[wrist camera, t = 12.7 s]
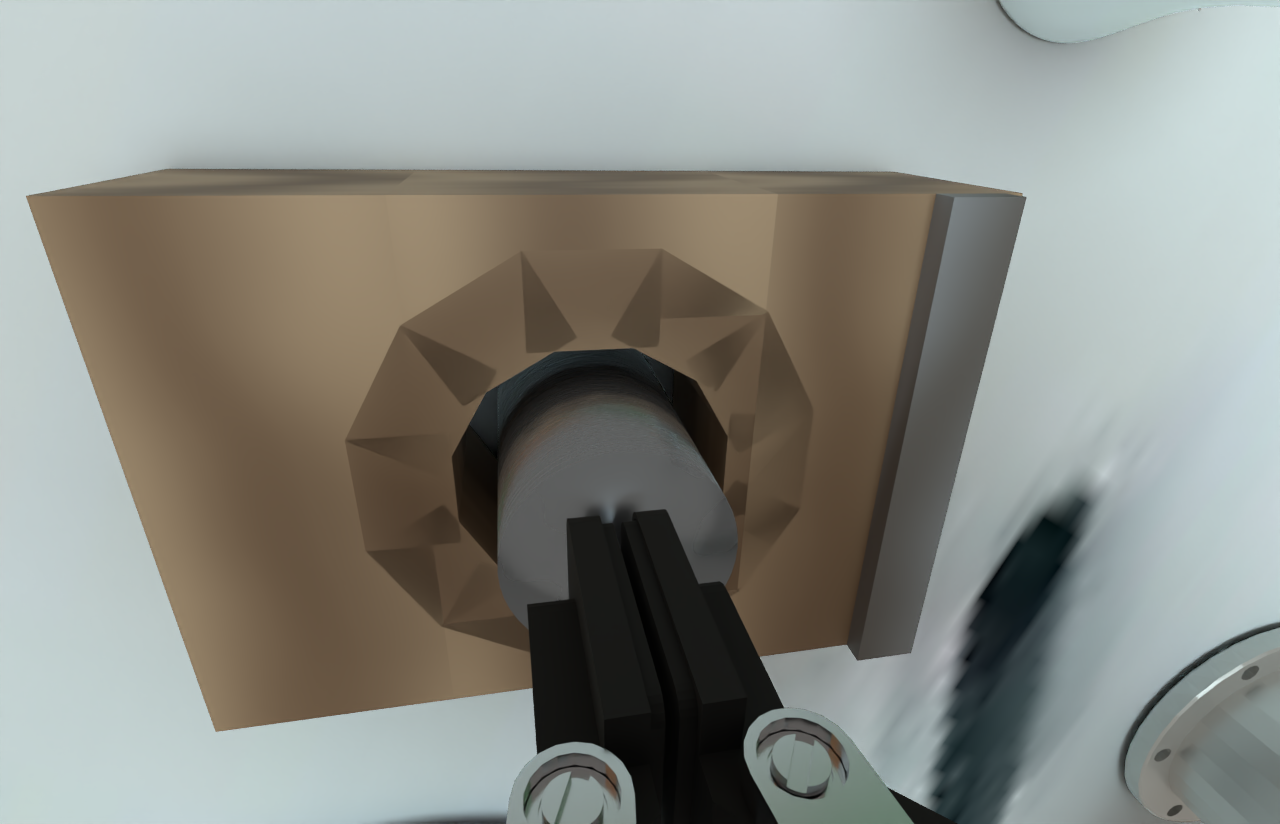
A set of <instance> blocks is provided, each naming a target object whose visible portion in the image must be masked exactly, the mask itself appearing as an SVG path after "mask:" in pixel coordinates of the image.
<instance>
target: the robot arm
mask: <svg viewBox="0 0 1280 824" xmlns="http://www.w3.org/2000/svg"><path fill="white" fill-rule="evenodd" d="M566 530H567V561H568V593H569V599H567V600H559V601H551V602H542V603H534V604H527V613H528V628H529V643H530V658H531V672H532V687H533V702H534V716H535V730H536V745H537V755H536V756H535V757H534V758H533V759H532V760H531V761H529V762H528V763H527V764H526V765H525V766H524V768H523V769H522V771H521V772H520V774H519V775H518V777H517V778H516V780H515V782H514V785H513V788H512V792H511V795H510V798H509V805H508V813H507V820H506V824H957V823H955V822H953V821H951V820H949V819H947V818H945V817H943V816H941V815H939V814H937V813H936V812H934V811H932V810H930V809H928V808H926V807H924V806H922V805H920V804H918V803H916V802H914V801H912V800H911V799H909V798H907V797H905V796H903V795H901V794H899V793H897V792H895V791H893V790H891V789H889V788H887V787H886V786H885V784H884V783H883V781H882V780H881V779H880V777H879V776H878V775H877V773H876V772H875V771H874V769H873V768H872V767H871V765H870V764H869V763H868V761H867V760H866V759H865V757H864V756H863V755H862V753H861V752H860V751H859V749H858V748H857V747H856V745H855V744H854V743H853V741H852V740H851V739H850V738H849V737H848V736H847V735H846V734H845V732H844V731H843V730H842V729H841V728H840V727H839V726H838V725H836V724H835V723H833V722H831V721H830V720H828V719H827V718H825V717H824V716H822V715H819V714H816V713H814V712H811V711H808V710H805V709H797V708H784V707H783V705H782V703H781V701H780V699H779V697H778V694H777V692H776V690H775V688H774V686H773V684H772V682H771V680H770V678H769V676H768V674H767V672H766V670H765V668H764V665H763V663H762V661H761V659H760V657H759V655H758V653H757V651H756V649H755V647H754V645H753V643H752V641H751V638H750V636H749V634H748V632H747V630H746V628H745V626H744V624H743V622H742V620H741V618H740V616H739V614H738V612H737V609H736V607H735V605H734V603H733V601H732V599H731V597H730V595H729V593H728V591H727V589H726V587H725V586H724V584H723V583H721V582H720V581H718V582H709V583H701V584H698V581H697V579H696V577H695V574H694V572H693V570H692V567H691V565H690V563H689V560H688V558H687V556H686V553H685V551H684V549H683V546H682V544H681V542H680V539H679V537H678V535H677V532H676V530H675V528H674V525H673V523H672V521H671V518H670V516H669V514H668V512H667V510H666V509H660V510H650V511H639V512H634V513H633V515H632V521H625V522H622V524H621V548H620V545H619V542H618V538H617V535H616V531H615V528H614V525H613V523H605V524H602V522H601V518H600V516H599V515H598V516H587V517H577V518H567V522H566ZM1125 779H1126V783H1127V787H1128V789H1129V790H1130V791H1131V793H1132V794H1133V795H1134V796H1135V798H1136V799H1137V800H1138V801H1139V802H1140V803H1141V804H1142V805H1143V806H1144V807H1145V808H1146V809H1147V810H1148V811H1149V812H1150V813H1151V814H1153V815H1154V816H1156V817H1159V818H1161V819H1164V820H1169V821H1178V822H1191V821H1202V822H1203V823H1204V824H1280V627H1279V628H1275V629H1272V630H1269V631H1266V632H1262V633H1259V634H1256V635H1254V636H1251V637H1249V638H1247V639H1245V640H1242V641H1240V642H1238V643H1236V644H1233V645H1232V646H1230V647H1228V648H1226V649H1225V650H1223V651H1221V652H1219V653H1218V654H1216V655H1214V656H1213V657H1211V658H1209V659H1208V660H1207V661H1205V662H1204V663H1202V664H1201V665H1200V666H1198V667H1197V668H1195V669H1194V670H1193V671H1191V672H1190V673H1188V674H1187V675H1186V676H1185V677H1184V678H1183V679H1182V680H1180V681H1179V682H1178V683H1177V684H1176V685H1175V686H1174V687H1172V688H1171V689H1170V690H1169V691H1168V692H1167V693H1166V694H1165V695H1164V696H1163V698H1162V699H1161V700H1160V701H1159V702H1158V703H1157V704H1156V705H1155V706H1154V707H1153V708H1152V710H1151V711H1150V712H1149V714H1148V715H1147V717H1146V718H1145V719H1144V721H1143V722H1142V723H1141V725H1140V726H1139V728H1138V730H1137V732H1136V734H1135V736H1134V738H1133V739H1132V741H1131V743H1130V746H1129V749H1128V753H1127V756H1126V759H1125Z"/></svg>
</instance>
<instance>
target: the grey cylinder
mask: <svg viewBox="0 0 1280 824" xmlns="http://www.w3.org/2000/svg"><path fill="white" fill-rule="evenodd" d="M660 509H666V510H667V512H668V514H669V516H670V518H671V521H672V523H673V525H674V528H675V530H676V532H677V535H678V537H679V539H680V542H681V544H682V546H683V549H684V551H685V553H686V556H687V558H688V560H689V563H690V565H691V567H692V570H693V572H694V574H695V577H696V579H697V581H698V584H701V583H709V582H718V581H720V582H721V583H723V584H724V586H725V585H726V583H727V581H728V579H729V577H730V575H731V573H732V570H733V567H734V564H735V560H736V554H737V549H738V533H737V525H736V521H735V517H734V514H733V511H732V509H731V507H730V505H729V503H728V501H727V499H726V497H725V495H724V494H723V492H722V490H721V488H720V487H719V485H718V483H717V482H716V480H715V478H714V476H713V475H712V473H711V471H710V470H709V468H708V466H707V464H706V463H705V461H704V459H703V458H702V456H701V454H700V452H699V451H698V449H697V447H696V446H695V444H694V442H693V440H692V439H691V437H690V435H689V434H688V432H687V430H686V428H685V427H684V425H683V423H682V422H681V420H680V418H679V416H678V415H677V413H676V411H675V409H674V408H673V406H672V404H671V403H670V401H669V399H668V397H667V396H666V394H665V392H664V391H663V389H662V387H661V385H660V384H659V382H658V380H657V379H656V377H655V375H654V373H653V372H652V370H651V368H650V367H649V365H648V363H647V361H646V360H645V358H644V356H643V355H642V353H641V352H640V351H638V350H636V349H634V348H624V349H603V350H581V351H559V352H553V353H551V354H549V355H548V356H546V357H545V358H543V359H541V360H540V361H538V362H536V363H535V364H533V365H531V366H530V367H528V368H526V369H525V370H523V371H521V372H520V373H518V374H516V375H515V376H513V377H511V378H510V379H508V380H506V381H505V382H503V383H501V384H500V385H498V579H499V584H500V588H501V591H502V594H503V597H504V599H505V601H506V603H507V605H508V607H509V608H510V610H511V611H512V613H513V614H514V615H515V617H516V618H517V619H518V620H519V621H520V622H521V623H522V624H523V625H524V626H525V627H526V628H527V629H528V630H529V628H528V613H527V604H534V603H542V602H551V601H559V600H567V599H569V593H568V561H567V530H566V522H567V518H577V517H587V516H598V515H599V516H600V518H601V522H602V524H605V523H613V525H614V528H615V531H616V535H617V538H618V542H619V545H620V548H621V524H622V522H625V521H632V515H633V513H634V512H639V511H650V510H660Z"/></svg>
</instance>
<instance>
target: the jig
mask: <svg viewBox="0 0 1280 824" xmlns="http://www.w3.org/2000/svg"><path fill="white" fill-rule="evenodd" d="M1022 194H1023V193H1017V192H1011V191H1005V190H1000V189H994V188H988V187H982V186H976V185H970V184H964V183H958V182H952V181H946V180H940V179H934V178H928V177H922V176H916V175H910V174H904V173H898V172H802V171H549V170H296V169H165V170H159V171H154V172H149V173H144V174H138V175H133V176H128V177H123V178H118V179H112V180H107V181H102V182H97V183H92V184H86V185H81V186H76V187H71V188H66V189H60V190H55V191H50V192H45V193H39V194H34V195H29V196H26V198H27V200H28V203H29V206H30V209H31V212H32V214H33V217H34V220H35V223H36V226H37V229H38V231H39V234H40V237H41V240H42V243H43V246H44V248H45V251H46V254H47V257H48V260H49V262H50V265H51V268H52V271H53V274H54V277H55V279H56V282H57V285H58V288H59V291H60V294H61V296H62V299H63V302H64V305H65V308H66V310H67V313H68V316H69V319H70V322H71V325H72V327H73V330H74V333H75V336H76V339H77V342H78V344H79V347H80V350H81V353H82V356H83V358H84V361H85V364H86V367H87V370H88V373H89V375H90V378H91V381H92V384H93V387H94V390H95V392H96V395H97V398H98V401H99V404H100V406H101V409H102V412H103V415H104V418H105V421H106V423H107V426H108V429H109V432H110V435H111V438H112V440H113V443H114V446H115V449H116V452H117V454H118V457H119V460H120V463H121V466H122V469H123V471H124V474H125V477H126V480H127V483H128V486H129V488H130V491H131V494H132V497H133V500H134V502H135V505H136V508H137V511H138V514H139V517H140V519H141V522H142V525H143V528H144V531H145V534H146V536H147V539H148V542H149V545H150V548H151V550H152V553H153V556H154V559H155V562H156V565H157V567H158V570H159V573H160V576H161V579H162V582H163V584H164V587H165V590H166V593H167V596H168V598H169V601H170V604H171V607H172V610H173V613H174V615H175V618H176V621H177V624H178V627H179V630H180V632H181V635H182V638H183V641H184V644H185V646H186V649H187V652H188V655H189V658H190V661H191V663H192V666H193V669H194V672H195V675H196V678H197V680H198V683H199V686H200V689H201V692H202V694H203V697H204V700H205V703H206V706H207V709H208V711H209V714H210V717H211V720H212V723H213V725H214V728H215V731H216V732H218V731H225V730H232V729H239V728H247V727H254V726H261V725H268V724H275V723H283V722H290V721H297V720H304V719H312V718H319V717H326V716H333V715H341V714H348V713H355V712H362V711H369V710H377V709H384V708H391V707H398V706H406V705H413V704H420V703H427V702H435V701H442V700H449V699H456V698H463V697H471V696H478V695H485V694H492V693H500V692H507V691H514V690H521V689H529V688H533V687H532V672H531V658H530V643H529V630H528V629H527V628H526V627H525V626H524V625H523V624H522V623H521V622H520V621H519V620H518V619H517V618H516V617H515V615H514V614H513V613H512V611H511V610H510V608H509V607H508V605H507V603H506V601H505V599H504V597H503V594H502V591H501V588H500V584H499V579H498V460H497V459H496V458H495V457H494V455H493V454H492V453H491V452H490V450H489V449H488V448H487V447H486V445H485V444H484V443H483V442H482V440H481V439H480V438H479V437H478V435H477V434H476V433H475V431H474V430H473V429H472V428H471V426H470V425H469V423H470V421H471V420H472V418H473V416H474V414H475V412H476V410H477V408H478V406H479V405H480V403H481V401H482V399H483V397H484V395H485V393H486V392H488V391H490V390H491V389H493V388H495V387H496V386H498V385H500V384H501V383H503V382H505V381H506V380H508V379H510V378H511V377H513V376H515V375H516V374H518V373H520V372H521V371H523V370H525V369H526V368H528V367H530V366H531V365H533V364H535V363H536V362H538V361H540V360H541V359H543V358H545V357H546V356H548V355H549V354H551V353H553V352H559V351H581V350H603V349H624V348H634V349H636V350H638V351H640V352H642V353H644V354H646V355H648V356H649V357H651V358H653V359H655V360H657V361H659V362H661V363H663V364H665V365H667V366H669V367H671V368H673V369H674V384H673V408H674V409H675V411H676V413H677V415H678V416H679V418H680V420H681V422H682V423H683V425H684V427H685V428H686V430H687V432H688V434H689V435H690V437H691V439H692V440H693V442H694V444H695V446H696V447H697V449H698V451H699V452H700V454H701V456H702V458H703V459H704V461H705V463H706V464H707V466H708V468H709V470H710V471H711V473H712V475H713V476H714V478H715V480H716V482H717V483H718V485H719V487H720V488H721V490H722V492H723V494H724V495H725V497H726V499H727V501H728V503H729V505H730V507H731V509H732V511H733V514H734V517H735V521H736V525H737V533H738V549H737V554H736V560H735V564H734V567H733V570H732V573H731V575H730V577H729V579H728V581H727V583H726V585H725V587H726V589H727V591H728V593H729V595H730V597H731V599H732V601H733V603H734V605H735V607H736V609H737V612H738V614H739V616H740V618H741V620H742V622H743V624H744V626H745V628H746V630H747V632H748V634H749V636H750V638H751V641H752V643H753V645H754V647H755V649H756V651H757V653H758V655H759V657H760V656H767V655H774V654H782V653H789V652H796V651H803V650H810V649H818V648H825V647H832V646H839V645H848V647H849V649H850V650H851V652H852V653H853V655H854V656H855V658H856V659H857V661H858V660H865V659H872V658H879V657H886V656H893V655H900V654H907V653H911V650H912V647H913V643H914V639H915V635H916V631H917V627H918V623H919V619H920V615H921V611H922V607H923V603H924V599H925V595H926V591H927V587H928V583H929V580H930V576H931V572H932V568H933V564H934V560H935V556H936V552H937V548H938V544H939V540H940V536H941V532H942V528H943V524H944V520H945V516H946V512H947V509H948V505H949V501H950V497H951V493H952V489H953V485H954V481H955V477H956V473H957V469H958V465H959V461H960V457H961V453H962V449H963V445H964V442H965V438H966V434H967V430H968V426H969V422H970V418H971V414H972V410H973V406H974V402H975V398H976V394H977V390H978V386H979V382H980V378H981V374H982V371H983V367H984V363H985V359H986V355H987V351H988V347H989V343H990V339H991V335H992V331H993V327H994V323H995V319H996V315H997V311H998V307H999V304H1000V300H1001V296H1002V292H1003V288H1004V284H1005V280H1006V276H1007V272H1008V268H1009V264H1010V260H1011V256H1012V252H1013V248H1014V244H1015V240H1016V236H1017V233H1018V229H1019V225H1020V221H1021V217H1022V213H1023V209H1024V205H1025V201H1026V197H1024V196H1022Z"/></svg>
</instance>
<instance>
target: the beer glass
mask: <svg viewBox="0 0 1280 824" xmlns="http://www.w3.org/2000/svg"><path fill="white" fill-rule="evenodd" d="M999 2H1000V4H1001V6H1002V7H1003V9H1004V10H1005V12H1006V13H1007V14H1008V16H1009V17H1010V18H1011V19H1012V20H1013V21H1014V22H1015V23H1016V24H1017V25H1018V26H1019V27H1020V28H1022V29H1023V30H1025V31H1026V32H1028V33H1029V34H1031V35H1033V36H1035V37H1038V38H1040V39H1043V40H1047V41H1051V42H1056V43H1079V42H1085V41H1091V40H1095V39H1098V38H1102V37H1105V36H1108V35H1111V34H1114V33H1117V32H1120V31H1123V30H1126V29H1129V28H1131V27H1134V26H1137V25H1140V24H1143V23H1145V22H1148V21H1151V20H1154V19H1157V18H1160V17H1164V16H1167V15H1171V14H1174V13H1178V12H1183V11H1189V10H1194V9H1198V11H1200V10H1201V8H1210V7H1224V6H1260V7H1280V0H999Z"/></svg>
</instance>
